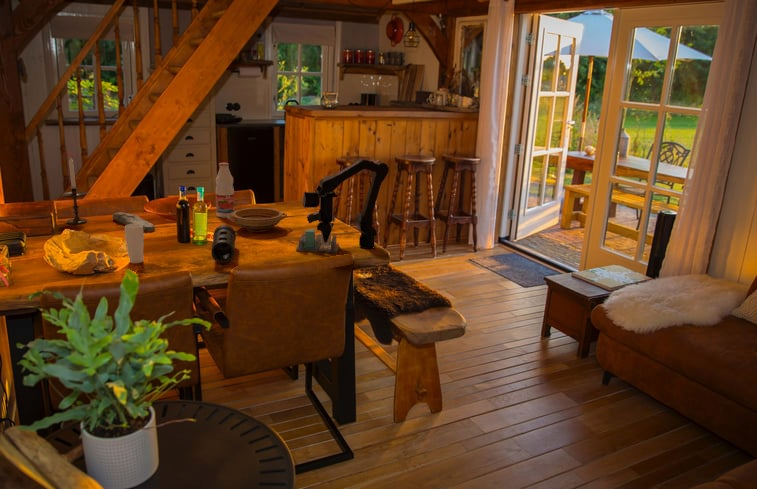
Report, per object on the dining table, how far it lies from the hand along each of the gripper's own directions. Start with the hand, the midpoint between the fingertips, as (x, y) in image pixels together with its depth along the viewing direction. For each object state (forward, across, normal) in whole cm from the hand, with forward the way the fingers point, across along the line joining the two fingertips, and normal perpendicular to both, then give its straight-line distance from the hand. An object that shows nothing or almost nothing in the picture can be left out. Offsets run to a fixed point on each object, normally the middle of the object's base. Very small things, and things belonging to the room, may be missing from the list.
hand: (325, 241), depth 268 cm
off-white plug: (+2, 0, 0) cm, 2 cm away
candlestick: (+4, -25, -125) cm, 127 cm away
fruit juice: (+4, -51, -59) cm, 78 cm away
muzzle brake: (+4, +16, -42) cm, 44 cm away
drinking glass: (+4, +30, -73) cm, 79 cm away
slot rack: (+4, 0, -4) cm, 5 cm away
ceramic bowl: (+4, -28, -37) cm, 47 cm away
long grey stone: (+4, -26, -97) cm, 101 cm away
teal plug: (+2, 0, -7) cm, 7 cm away
